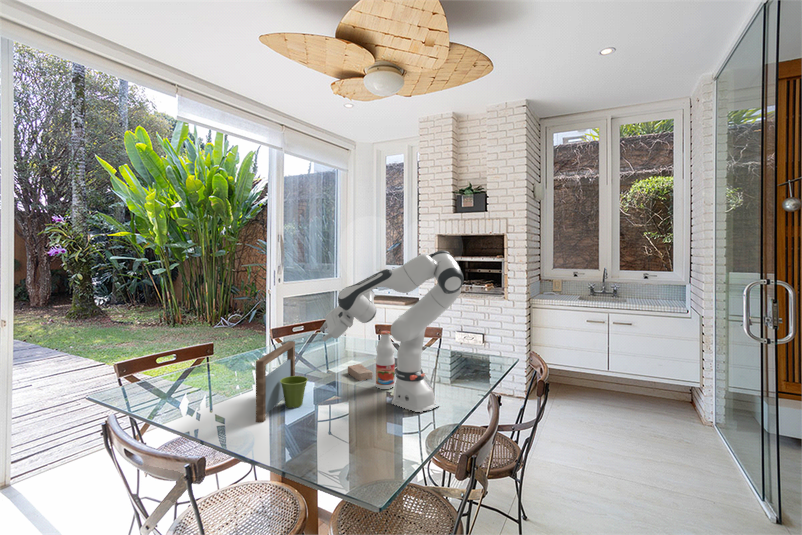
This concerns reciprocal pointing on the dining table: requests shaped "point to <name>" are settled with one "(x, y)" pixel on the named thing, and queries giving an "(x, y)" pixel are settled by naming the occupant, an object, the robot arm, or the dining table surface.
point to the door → (276, 384)
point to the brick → (360, 372)
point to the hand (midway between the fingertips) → (322, 335)
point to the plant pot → (293, 390)
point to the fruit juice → (385, 362)
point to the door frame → (262, 376)
